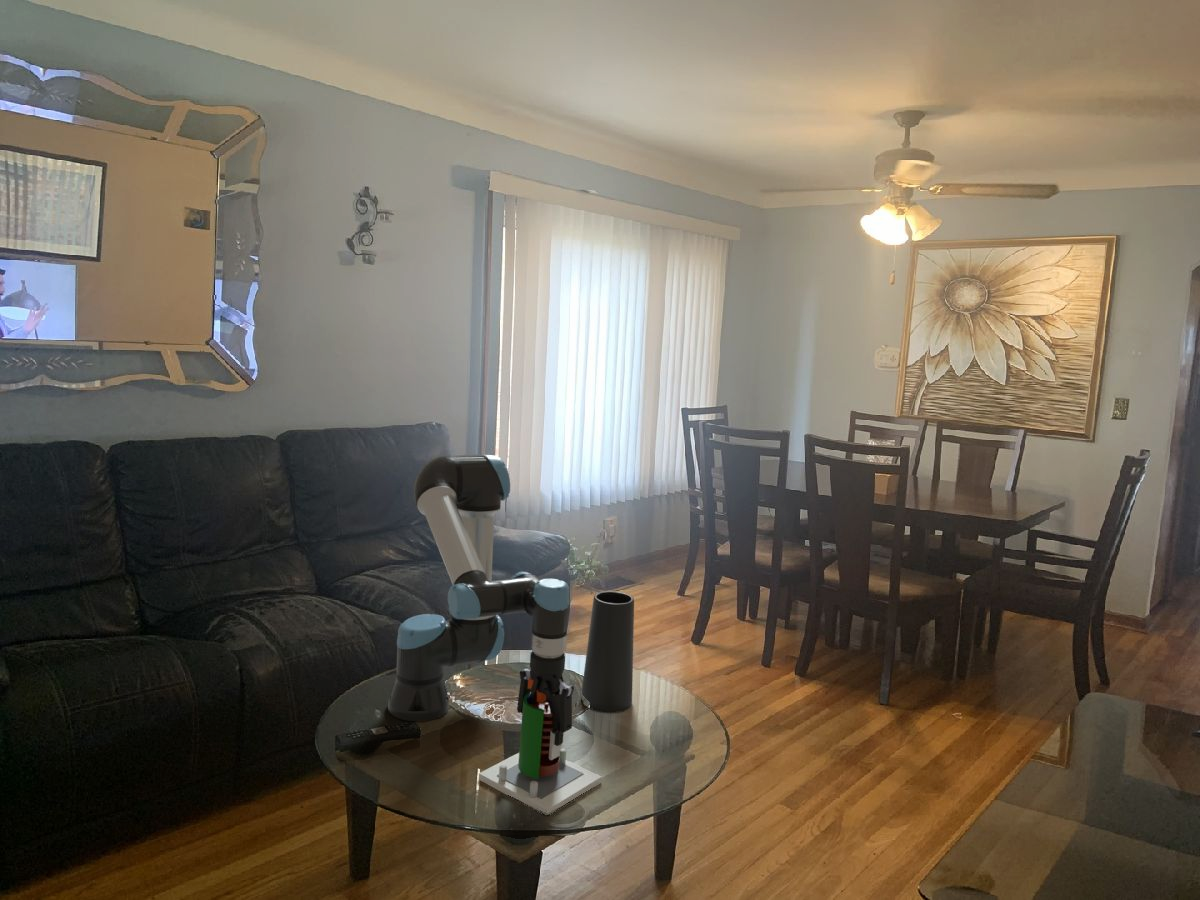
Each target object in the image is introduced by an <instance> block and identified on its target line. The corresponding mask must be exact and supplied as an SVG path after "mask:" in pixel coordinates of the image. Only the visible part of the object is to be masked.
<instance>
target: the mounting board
mask: <svg viewBox="0 0 1200 900" xmlns="http://www.w3.org/2000/svg"><path fill="white" fill-rule="evenodd" d="M518 762H519V752H518V753H516V754H514V755H511V756H510V757H508V758H506V759H504V760H502V761H500V762H499V763H498V762H497V763H495V764H494V765H492V766H490V767H489V768H486V769H485V770H482V771H481V772H479V773H478V780H479V781H480V782H482V783H484V784H486V785H488V786H490V787H492V788H493V789H495V790H497V791H499V792H501V793H503V794H504V795H506V796H508V795H509V796H508V797H510V796H511V798H512V797H514V798H516V799H519V800H521V801H522V802H524V803H527V804H528V805H531V806H533V807H535V808H538V809H539V810H541V811H543V812H546V813H549V812H551V811H552V810H554V809H556V808H558V807H560V806H562V805H564V804H566V803H568V802H569V801H571V800H572V799H574V798H576V797H577V796H579V795H581V794H582V795H584V794H586V793H587V792H589V791H590V789H591V788H592V789H594V788H596V787H597V786H598V785H601V784H602V776H601V775H599V774H597V773H595V772H592V771H590V770H589V769H586V768H584V767H583V766H580V765H578V764H576V763H574V762H572V761H570V760H567V749H565V748H560V759H559V769H558V771H557V772H556V773H555V774H552V775H549V776H539V778H538V779H535V778H531V777H528V776H526V775H524V774H523V773H522V772H521V771H520V770H519V768H518ZM593 787H594V788H593ZM592 789H591V790H592ZM588 790H589V791H588ZM586 791H587V792H586ZM585 792H586V793H585ZM583 793H584V794H583ZM582 795H581V796H582ZM579 797H580V796H579ZM514 798H513V799H514ZM576 799H577V798H576ZM574 800H575V799H574ZM571 802H572V801H571ZM568 804H569V803H568ZM566 805H567V804H566Z"/></svg>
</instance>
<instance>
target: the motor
mask: <svg viewBox="0 0 1200 900" xmlns="http://www.w3.org/2000/svg"><path fill="white" fill-rule="evenodd" d="M532 685H533V679H532V678H530V679H529V680H528V689H531V688H532ZM536 692H537V702H538V703H536V704H534V705H533V704H530V705H529V696H530V694H531V692H530V693H528V694H526V695H525V696H524V698H523V710H522V713H521V725H520V740H519V752H518V753H519V762H518V768H519V770H520V771H521V772H522V773H523V774H524V775H526V776H528V777H531V778H535V779H538V778H539V776H549V775H552V774H555V773H556V772H557V771H558V769H559V759H560V756H558V757H556V758H555V759H553V760H550V759H549V748H550V733H551V731H552V730H554V728H553V723H552V718H551V717H552V713H551V712H550V707H549V702H548V701H547V700H546V695H545V694H543V693H540V692H538V690H537V691H536ZM553 695H554V694H553ZM551 696H552V695H551ZM561 745H562V744H561ZM561 745H560V747H561Z"/></svg>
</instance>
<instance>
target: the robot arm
mask: <svg viewBox="0 0 1200 900" xmlns="http://www.w3.org/2000/svg"><path fill="white" fill-rule="evenodd" d="M413 487H414V488H413V498H414V502H415V505H416V507H417V510H418V511H419V512H420V514H421V515H423V516H425V518H426V521H427V523H428V526H429V528H430V530H431V533H432V536H433V539H434V541H435V543H436V546H437V549H438V551H439V553H440V556H441V559H442V560H443V564H444V565H445V568H446V571H447V573H448V575H449V578H450V581H451V584H452V585H451V586H450V588H448V593H447V603H448V610H449V613H450V619H447V620H446V618H445V617H444V616H442V615H440V614H436V613H432V614H430V613H423V614H422V613H421V614H418V615H413V616H412V617H409V618H408V619H405V620H404V621H403V622H402V623H401V624H400V625H399V627H398V629H397V630H398V631H397V639H396V646H397V647H396V677H395V682H394V685H393V688H392V691H391V694H390V695H389V697H388V702H387V704H388V705H387V710H388V713H389V714H390V715H391V716H393V717H394V718H396V719H399V720H402V721H407V722H427V721H433V720H435V719H438V718H441V717H443V716H444V715H445V714H446V713H447V712H448V711H449V708H450V697H449V694H448V691H447V688H446V684H445V681H444V670H445V669H444V668H447V667H455V666H461V665H468V664H477V663H479V664H481V663H483V662H486V661H487V662H488V661H490V660H494V659H495V658H497V656H499V654H500V653H501V651H502V648H503V646H504V639H505V630H504V622H503V620H502V618H501V616H502V615H503V616H504V615H509V614H518V613H527V614H528V615H529V616H530V617H532V621H531V623H532V624H531V640H530V641H531V642H530V643H531V645H530V650H531V651H530V656H529V659H530V660H529V667H527V668H524V669H522V670H520V671H519V678H520V679H519V680H520V684H519V691H518V698H517V705H516V706H517V707H516V712H517V713H519V714H520V713H521V714H522V710H523V698H524V696H525V695H526V694H528V693H530V692H531V694H530V696H529V705H530V704H533V705H534V704H536V703H538V702H537V692H536V691H537V690H538V692H540V693H543V694H545V695H546V700H547V701H548V702H549V707H550V712H551V713H552V717H551V718H552V723H553V728H554V730H552V731H551V733H550V748H549V759H550V760H553V759H555V758H556V757H558V756H560V749H561V746H560V745H562V744H563V743H564V733H566V732H567V731H569V730H571V729H572V727H573V701H572V699H573V698H572V697H573V693H574V690H575V687H574V685H567V683H565V682H564V677H563V673H564V671H565V667H566V651H567V641H568V640H567V637H568V633H567V632H568V622H569V610H570V603H571V600H570V586H569V585H568V583H567V582H566V581H564V580H559V579H557V578H542V579H541V578H539V577H538V576H537V575H534V574H532V573H530V572H527V571H518V572H516V573H514V575H512V576H511V577H510V578H505V579H496V580H494V579H493V577H492V576H493V555H494V554H493V551H494V529H495V528H494V525H495V515H496V514H497V513H498V512H499V511H500V510H501V502H502V501H505V500H507V499H508V498H509V495H510V493H511V479H510V474H509V470H508V468H507V465H506V464H505V461H504V460H503V459H502V458H501V457H499V456H497V455H495V454H483V453H481V454H464V455H441V456H438V457H435V458H433V459H431V460H430V461H428V462H427V463H426V464H425V465H423V467H422V468H421V469H420V471H419V473H418V474H417V476H416V479H415V482H414V486H413ZM492 579H493V580H492ZM500 615H501V616H500ZM530 678H532V679H533V685H532V688H531V689H528V680H529V679H530ZM553 694H554V695H553ZM551 695H552V696H551Z"/></svg>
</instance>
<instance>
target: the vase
mask: <svg viewBox="0 0 1200 900" xmlns="http://www.w3.org/2000/svg"><path fill="white" fill-rule="evenodd" d="M634 628H635V598H634V597H633V596H631V595H630V594H627V593H625V592H620V591H613V590H612V591H610V590H609V591H600V592H597V593H596V594H594V596H593V600H592V607H591V615H590V624H589V632H588V641H587V647H586V655H585V663H584V671H583V676H582V677H583V678H582V685H581V687H582V688H581V693H582V695H583V696H584V697H585V698H586V699H587V700H588V701H589V702H590V709H589V710H591V711H593V712H594V711H595V712H597V713H603V714H604V713H605V714H617V713H621V712H624V711H627V710H629V709H630V708H631V707H632V705H633V681H634V679H633V677H634V676H633V674H634V673H633V672H634V638H635V637H634V631H635V629H634Z"/></svg>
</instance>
